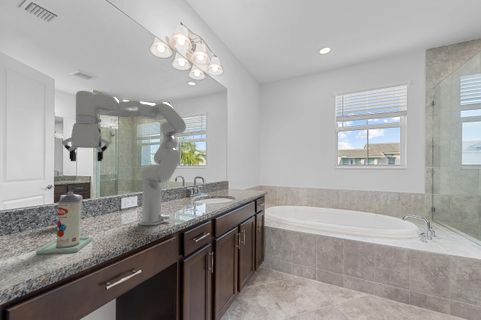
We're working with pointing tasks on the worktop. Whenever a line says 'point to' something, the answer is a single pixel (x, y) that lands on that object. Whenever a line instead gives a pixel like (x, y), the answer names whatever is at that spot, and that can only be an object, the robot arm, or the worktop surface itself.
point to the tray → (52, 248)
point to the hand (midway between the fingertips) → (86, 161)
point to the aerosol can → (68, 221)
